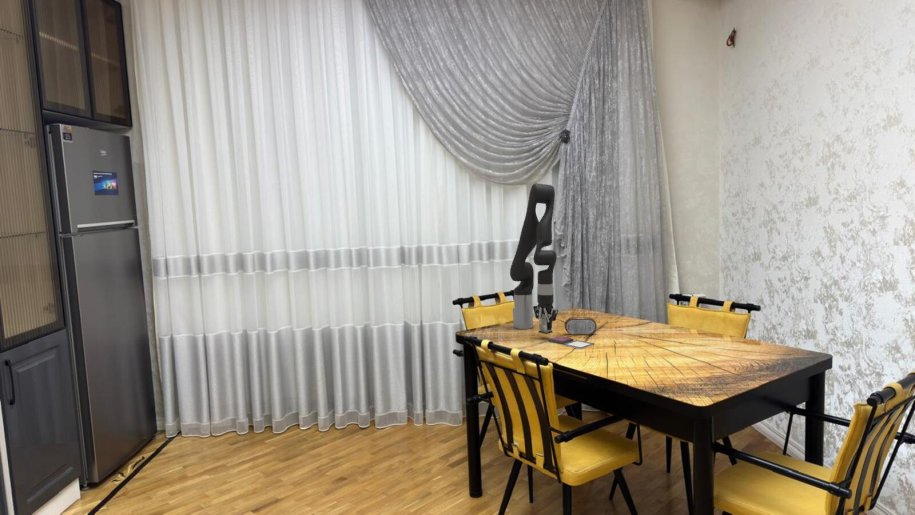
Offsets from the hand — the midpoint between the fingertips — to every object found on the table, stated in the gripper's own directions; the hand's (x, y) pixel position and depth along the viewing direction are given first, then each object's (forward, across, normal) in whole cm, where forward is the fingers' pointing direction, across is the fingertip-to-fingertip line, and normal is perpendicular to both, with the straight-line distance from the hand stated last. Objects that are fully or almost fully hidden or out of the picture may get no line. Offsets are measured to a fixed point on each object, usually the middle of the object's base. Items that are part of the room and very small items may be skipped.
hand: (545, 328), depth 284 cm
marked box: (+4, +19, +1) cm, 19 cm away
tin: (+5, +7, +17) cm, 19 cm away
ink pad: (+5, +9, +1) cm, 10 cm away
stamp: (+2, 0, 0) cm, 2 cm away
